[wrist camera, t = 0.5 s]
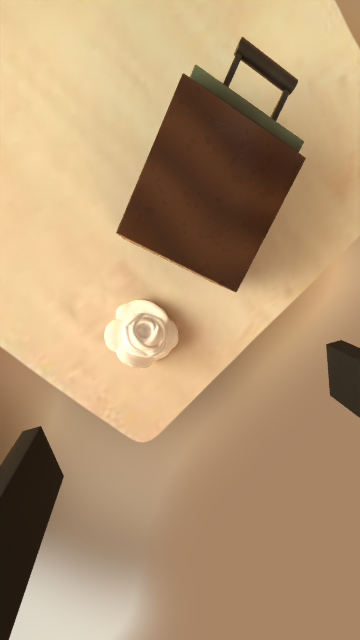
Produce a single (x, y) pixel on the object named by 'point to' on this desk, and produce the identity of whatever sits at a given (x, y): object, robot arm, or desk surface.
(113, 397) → the desk surface
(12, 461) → the robot arm
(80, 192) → the desk surface
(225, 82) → the drawer
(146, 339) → the rose
